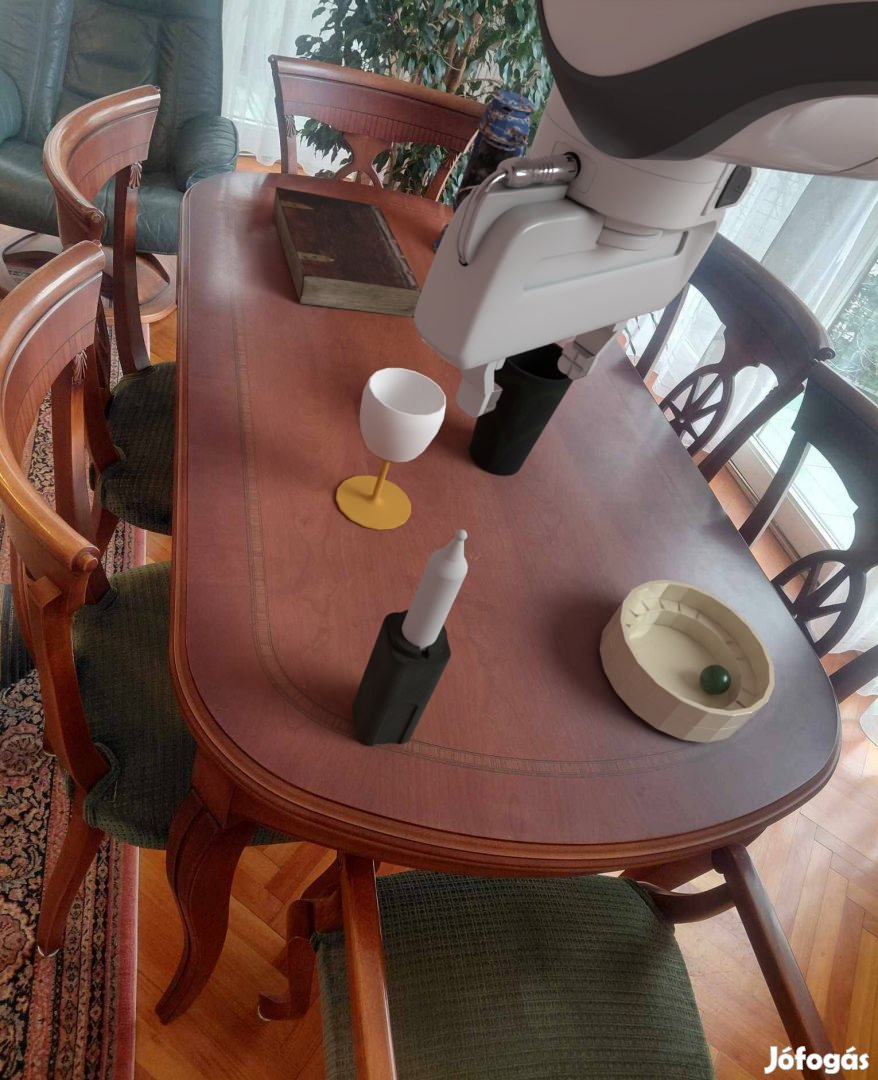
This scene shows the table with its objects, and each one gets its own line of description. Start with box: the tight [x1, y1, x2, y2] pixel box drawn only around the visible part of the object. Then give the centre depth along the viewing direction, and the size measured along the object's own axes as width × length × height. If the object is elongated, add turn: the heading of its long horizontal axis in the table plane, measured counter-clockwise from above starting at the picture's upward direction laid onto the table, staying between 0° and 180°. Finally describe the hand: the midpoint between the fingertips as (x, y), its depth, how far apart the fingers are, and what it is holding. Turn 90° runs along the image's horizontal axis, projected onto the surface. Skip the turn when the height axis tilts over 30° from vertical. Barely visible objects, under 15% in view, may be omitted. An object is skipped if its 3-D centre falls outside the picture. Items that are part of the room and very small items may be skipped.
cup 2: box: [468, 342, 574, 477], centre depth 99 cm, size 10×10×16 cm
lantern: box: [432, 80, 537, 254], centre depth 136 cm, size 15×12×30 cm
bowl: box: [599, 579, 775, 744], centre depth 83 cm, size 17×17×6 cm
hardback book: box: [272, 186, 422, 318], centre depth 129 cm, size 29×19×5 cm, turn 17°
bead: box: [700, 665, 731, 695], centre depth 84 cm, size 3×3×3 cm
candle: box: [351, 528, 469, 747], centre depth 63 cm, size 5×5×25 cm
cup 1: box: [335, 367, 447, 531], centre depth 86 cm, size 9×9×16 cm
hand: (525, 389), depth 46 cm, fingers open, 8 cm apart
